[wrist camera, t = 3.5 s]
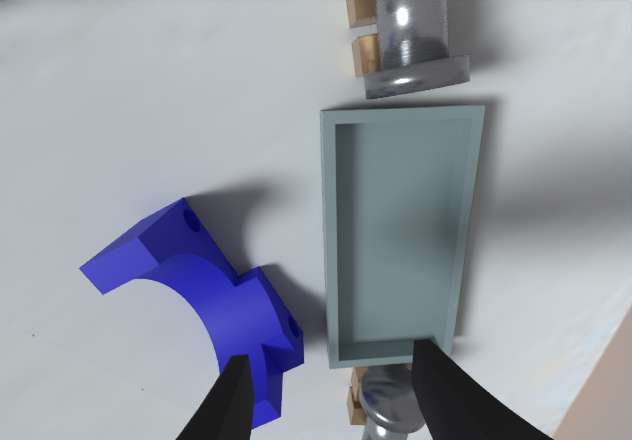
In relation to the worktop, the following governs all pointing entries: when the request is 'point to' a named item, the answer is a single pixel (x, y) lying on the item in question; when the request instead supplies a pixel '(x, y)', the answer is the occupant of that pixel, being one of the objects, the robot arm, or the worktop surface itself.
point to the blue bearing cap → (209, 296)
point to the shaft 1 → (404, 47)
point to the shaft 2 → (384, 402)
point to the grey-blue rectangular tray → (395, 227)
